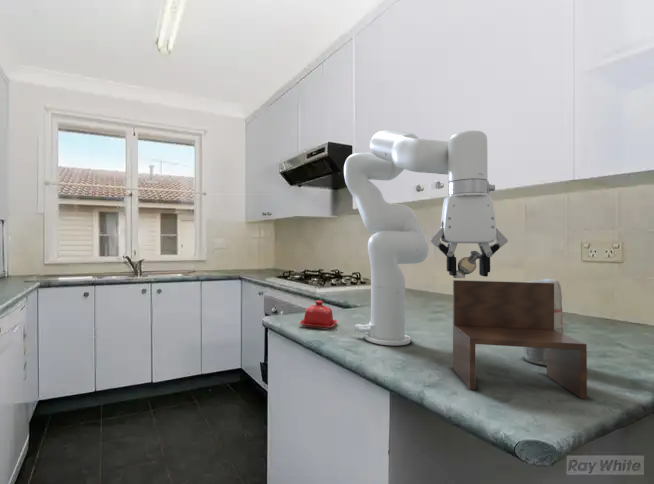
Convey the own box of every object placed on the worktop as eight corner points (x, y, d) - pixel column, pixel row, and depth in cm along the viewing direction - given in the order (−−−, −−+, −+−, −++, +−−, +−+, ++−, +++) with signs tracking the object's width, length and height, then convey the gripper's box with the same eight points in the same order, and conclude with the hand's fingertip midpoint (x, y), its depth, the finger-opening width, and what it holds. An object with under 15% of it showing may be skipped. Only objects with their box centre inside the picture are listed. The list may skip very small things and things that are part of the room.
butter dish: (338, 323, 129) (338, 298, 129) (333, 331, 118) (333, 304, 118) (306, 321, 133) (306, 297, 133) (297, 328, 122) (298, 301, 122)
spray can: (546, 369, 84) (546, 280, 85) (514, 358, 92) (514, 277, 93) (574, 366, 87) (573, 280, 87) (540, 355, 95) (540, 276, 95)
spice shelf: (469, 389, 72) (470, 286, 72) (452, 368, 84) (453, 279, 84) (587, 398, 68) (586, 289, 69) (551, 375, 80) (551, 282, 81)
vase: (477, 278, 81) (477, 250, 81) (487, 280, 76) (486, 251, 76) (451, 277, 82) (451, 250, 82) (458, 279, 77) (458, 250, 77)
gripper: (504, 192, 82) (505, 275, 81) (422, 193, 85) (422, 273, 85) (519, 187, 74) (520, 278, 74) (428, 189, 78) (428, 276, 77)
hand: (468, 274), depth 79 cm, fingers closed on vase, 5 cm apart
